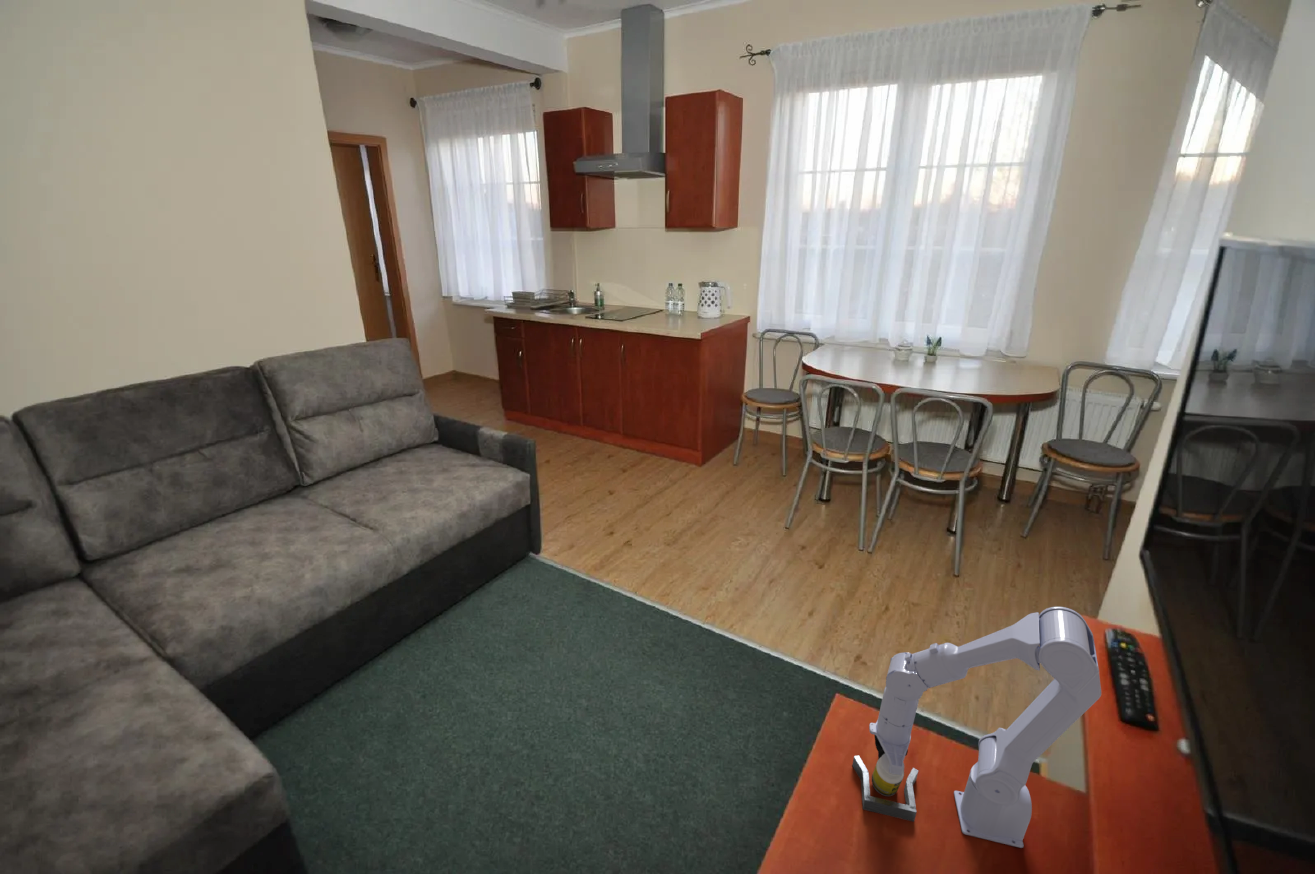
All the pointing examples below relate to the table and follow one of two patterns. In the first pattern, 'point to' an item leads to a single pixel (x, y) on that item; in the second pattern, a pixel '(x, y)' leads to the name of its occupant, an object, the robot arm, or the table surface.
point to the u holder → (883, 805)
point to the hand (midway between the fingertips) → (884, 766)
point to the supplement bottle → (885, 778)
